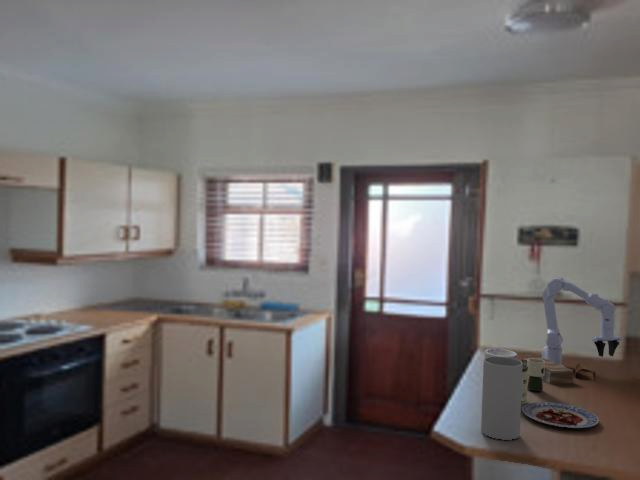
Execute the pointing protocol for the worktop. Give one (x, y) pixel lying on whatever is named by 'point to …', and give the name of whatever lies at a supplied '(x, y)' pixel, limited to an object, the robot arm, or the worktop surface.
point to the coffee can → (524, 384)
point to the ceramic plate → (560, 415)
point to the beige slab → (554, 372)
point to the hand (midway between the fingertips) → (606, 356)
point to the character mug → (535, 374)
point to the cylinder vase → (501, 397)
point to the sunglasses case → (584, 372)
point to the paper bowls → (500, 353)
